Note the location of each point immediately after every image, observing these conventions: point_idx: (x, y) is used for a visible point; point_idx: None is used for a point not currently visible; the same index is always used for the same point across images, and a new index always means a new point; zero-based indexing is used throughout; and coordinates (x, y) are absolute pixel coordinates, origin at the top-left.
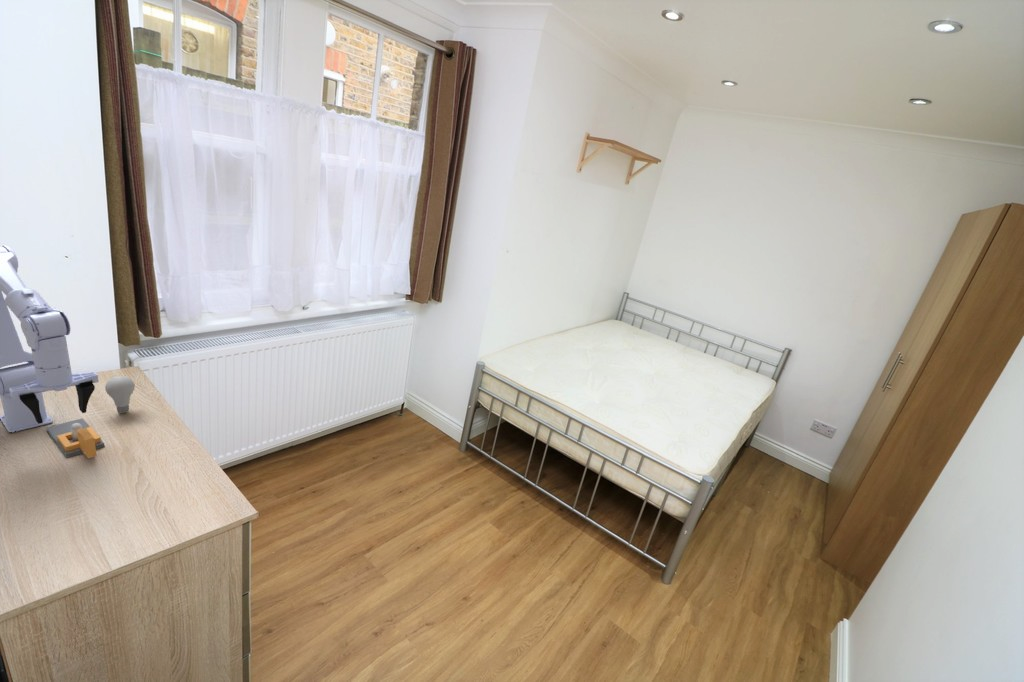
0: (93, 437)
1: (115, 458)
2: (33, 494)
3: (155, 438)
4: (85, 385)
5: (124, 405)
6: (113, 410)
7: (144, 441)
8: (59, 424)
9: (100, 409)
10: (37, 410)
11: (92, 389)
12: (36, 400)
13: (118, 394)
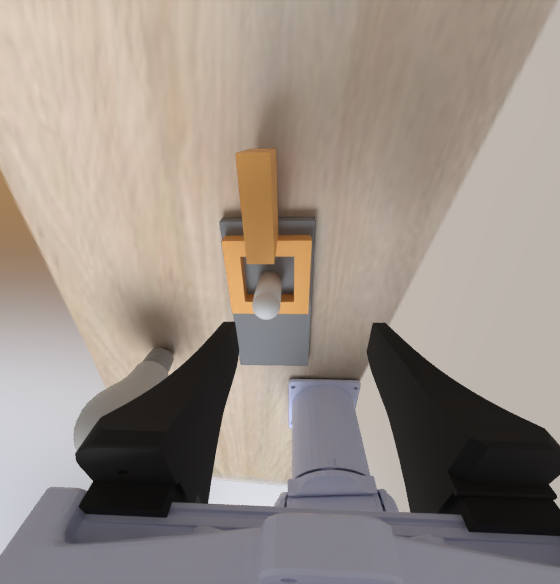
0: (237, 155)
1: (205, 113)
2: (477, 15)
3: (85, 175)
4: (138, 481)
5: (147, 362)
6: None
7: (117, 176)
8: (284, 363)
9: None
10: (420, 373)
11: (101, 425)
12: (491, 445)
13: (131, 395)
